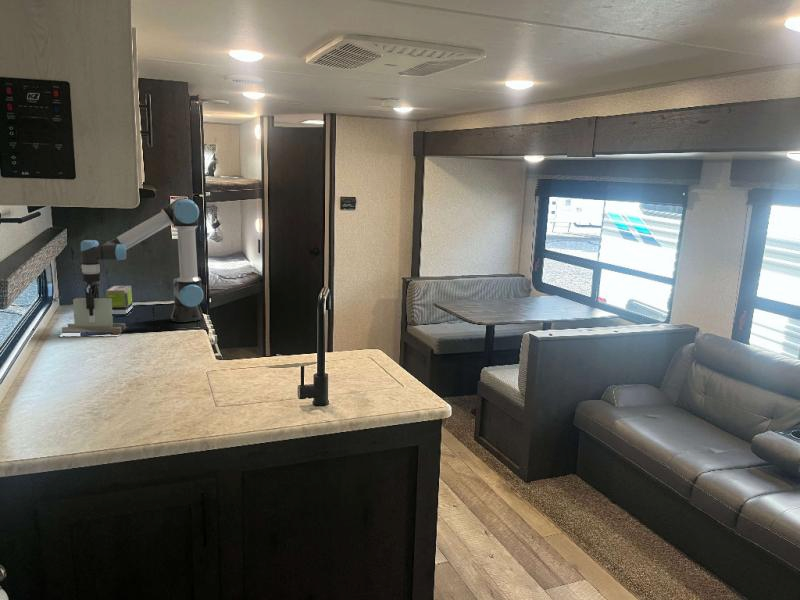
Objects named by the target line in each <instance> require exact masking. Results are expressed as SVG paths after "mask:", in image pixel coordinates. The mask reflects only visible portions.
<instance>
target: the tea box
mask: <svg viewBox="0 0 800 600" xmlns="http://www.w3.org/2000/svg"><path fill="white" fill-rule="evenodd" d="M105 298H112V314H126V313H128V312H129V311H130V310H131V309H132V308H133V307H134V305H133V294H132V285H113V286H111V287H109V288H108V289H106V290H105ZM133 309H134V308H133Z"/></svg>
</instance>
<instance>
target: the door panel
mask: <svg viewBox="0 0 800 600" xmlns="http://www.w3.org/2000/svg"><path fill="white" fill-rule="evenodd" d="M72 303H73V319H74V324H75V327H113V323H114V320H113V318H114V316H112V298H106V297H99V298H94V309H95V319H96V322H89V312H88V309H86V297H76V298H74V299H72Z"/></svg>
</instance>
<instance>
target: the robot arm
mask: <svg viewBox="0 0 800 600" xmlns="http://www.w3.org/2000/svg"><path fill="white" fill-rule="evenodd" d="M199 216H200V209H199V206H198V205H197V204H196V203H195V202H194V200H191V199H189V198H177V199H175V200H174V201H172V202H171V203H169V204H168V205H166V206H165V207H163V208H162V209H161V211H160V212H159V213H157V214H155V215H153V216H152V217H150V218H148V219H147V220H145V221H143V222H140V224H138V225H136V226H134V227H132V228H131V229H129V230H127V231H125V232H123V233H122V234H120V235H119V236H116V237H115V238H113V239H112V240H110V241H107V242H105V243H104V244H100V243H99V241H98V240H96V239H94V240H93V239H85V240H82V241H81V242H80V258H81V266H80V268H81V272H82V281H83V282H84V283H86V286H85V288H84V293H85V298H86V309H88V312H89V322H96V319H95V309H94V298H100V291H99V289H100V288H99V287H100V284H98V282H100V281H101V273H100V272H101V271H100V270H101V268H100V261H121V260H122V261H123V260H126V259H127V250H128V249H130V248H132V247H134V246H135V245H137V244H139V243H140V242H142V241H144V240H146V239H147V238H150V237H151V236H153V235H154V234H157V233H158V232H159V231H162V230H163V229H165V228H167V227H168V226H173V227H174V228H175V229H176V230H177V231H176V232H177V248H178V249H177V250H178V263H179V264H178V265H179V277H177V278H174V279H173V282H172V285H173V304H174V305H173V310H172V313H171V316H170V319H172V320H175V321H196V320H199V319H200V318H201V319H202V316H201V315H202V314H201V312H200V310H199V307H198V305H200V304H201V303H202V302H203V299H204V291H203V289H202V279H201V277H200V276H198V275H199V274H198V273H199V272H198V258H197V253H198V252H197V240H196V239H197V237H196V229H197V228H198V227H199Z"/></svg>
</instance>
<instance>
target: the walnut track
mask: <svg viewBox="0 0 800 600" xmlns="http://www.w3.org/2000/svg"><path fill="white" fill-rule="evenodd" d="M126 326H127V325H126V323H125V322H122V323H121V322H120V323H118V322H117V323H115V322H113V327H75V323H68V324H67V326H62V327H61V333H80V332H112V333H113V334H111V335H119V334H120V333H121V332H122V331H123V330H124V329H125V328H127V327H126ZM121 329H123V330H121Z"/></svg>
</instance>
